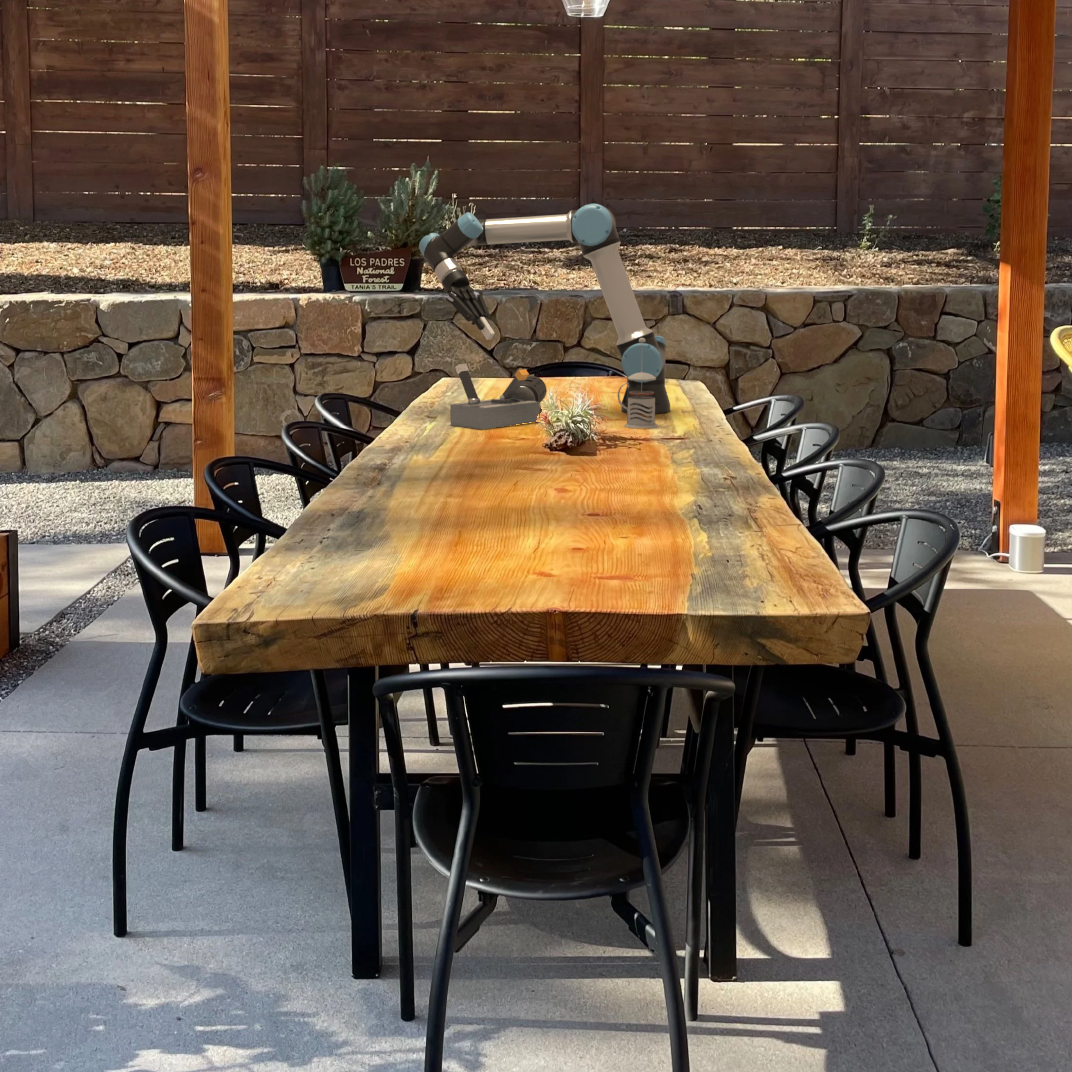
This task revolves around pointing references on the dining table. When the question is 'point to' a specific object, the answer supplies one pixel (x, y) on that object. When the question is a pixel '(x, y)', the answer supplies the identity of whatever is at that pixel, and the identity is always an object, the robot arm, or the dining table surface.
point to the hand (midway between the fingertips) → (490, 336)
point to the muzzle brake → (531, 390)
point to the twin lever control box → (489, 408)
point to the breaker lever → (514, 385)
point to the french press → (640, 402)
